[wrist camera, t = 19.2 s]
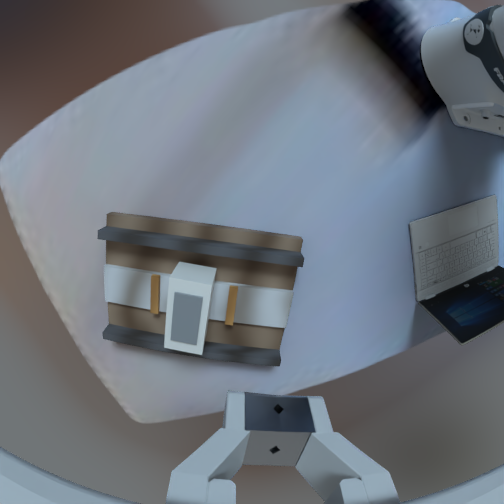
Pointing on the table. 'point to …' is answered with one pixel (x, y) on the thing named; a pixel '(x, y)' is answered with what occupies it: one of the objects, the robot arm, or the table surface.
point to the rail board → (224, 292)
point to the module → (188, 307)
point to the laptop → (460, 268)
